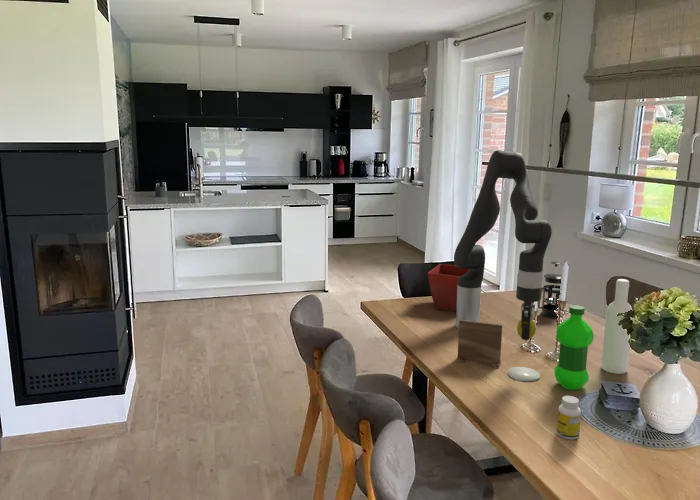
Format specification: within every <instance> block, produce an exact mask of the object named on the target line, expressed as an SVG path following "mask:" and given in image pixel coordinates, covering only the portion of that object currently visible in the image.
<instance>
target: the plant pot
mask: <svg viewBox="0 0 700 500" xmlns="http://www.w3.org/2000/svg"><path fill="white" fill-rule="evenodd" d="M468 271H469V269H459V268H457V267H456V266H455V264H443V263H440V264H438V265H437V266H435V267H433V268H432V269H431V270H429V271H428V272H427V279H428V285H429V289H430V290H429V291H430V295H431V298H432V302H433V304H434V308H435V309H437V310H444V311H450V312H456V309H457V285H458V278H459V277H460V276H462V275H464V274H466V273H467V272H468Z"/></svg>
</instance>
